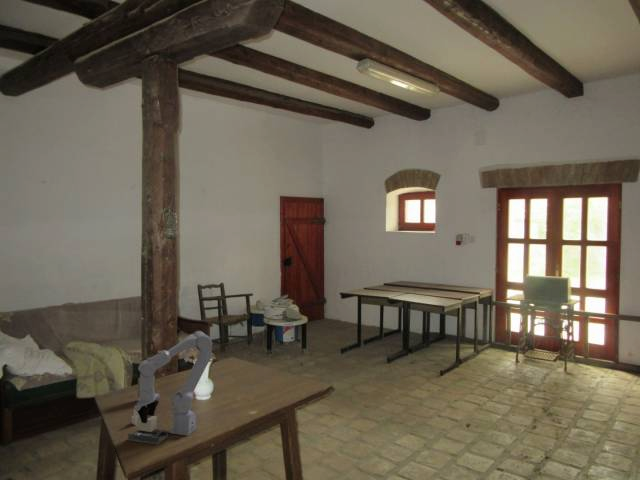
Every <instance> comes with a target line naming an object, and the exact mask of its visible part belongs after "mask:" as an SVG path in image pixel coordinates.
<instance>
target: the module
mask: <svg viewBox="0 0 640 480" xmlns="http://www.w3.org/2000/svg"><path fill="white" fill-rule="evenodd" d="M157 422H158V416H156V415H154V416H149V415H148V416H147V423H142V422H141V419H140V417H138V418H137V425H136V431H138V430H141V431H148V432H152V431H153V430H155V429H158V423H157Z"/></svg>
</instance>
